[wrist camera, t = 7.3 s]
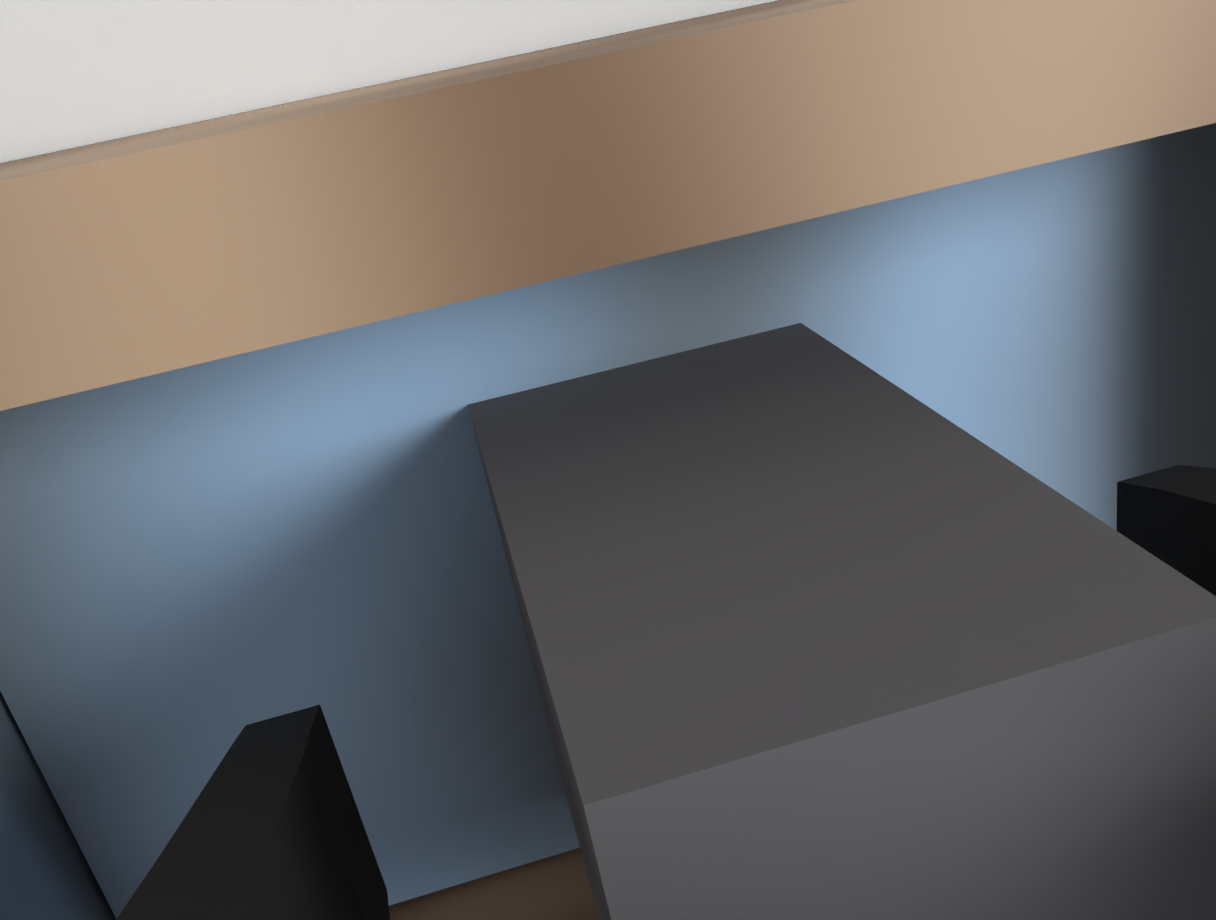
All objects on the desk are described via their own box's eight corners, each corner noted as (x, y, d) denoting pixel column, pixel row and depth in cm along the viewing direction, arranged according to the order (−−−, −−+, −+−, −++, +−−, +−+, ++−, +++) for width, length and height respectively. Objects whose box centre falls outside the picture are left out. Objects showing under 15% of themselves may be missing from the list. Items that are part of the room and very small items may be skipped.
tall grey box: (800, 322, 11) (1237, 611, 5) (844, 713, 13) (1195, 1208, 7) (466, 404, 10) (584, 808, 5) (566, 795, 12) (723, 1383, 7)
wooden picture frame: (1370, -124, 11) (1635, -164, 9) (1252, 1113, 19) (1374, 1262, 16) (-422, 251, 9) (-694, 328, 7) (290, 1466, 17) (279, 1693, 14)
